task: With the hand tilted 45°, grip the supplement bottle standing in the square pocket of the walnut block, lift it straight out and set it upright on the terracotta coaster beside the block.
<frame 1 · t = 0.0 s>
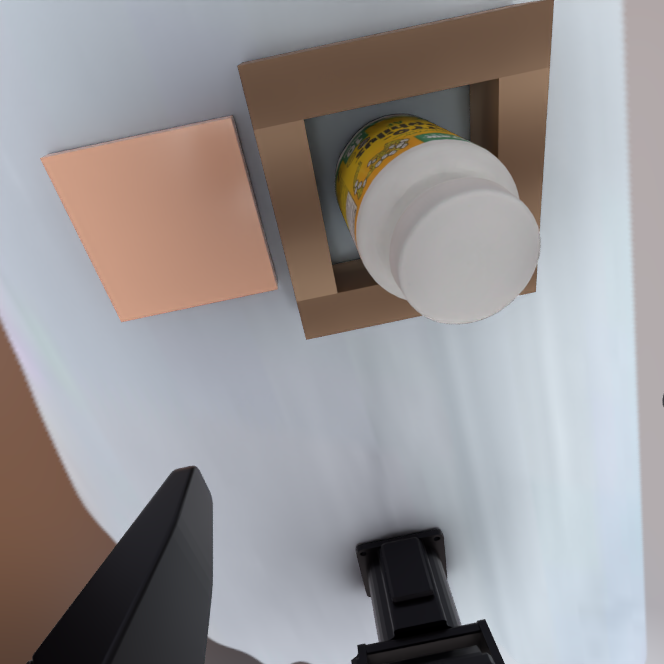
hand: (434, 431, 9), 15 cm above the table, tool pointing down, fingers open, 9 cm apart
coaster: (174, 224, 21), on the table
supplement bottle: (392, 176, 21), resting in pocket block
pocket block: (393, 177, 21), on the table
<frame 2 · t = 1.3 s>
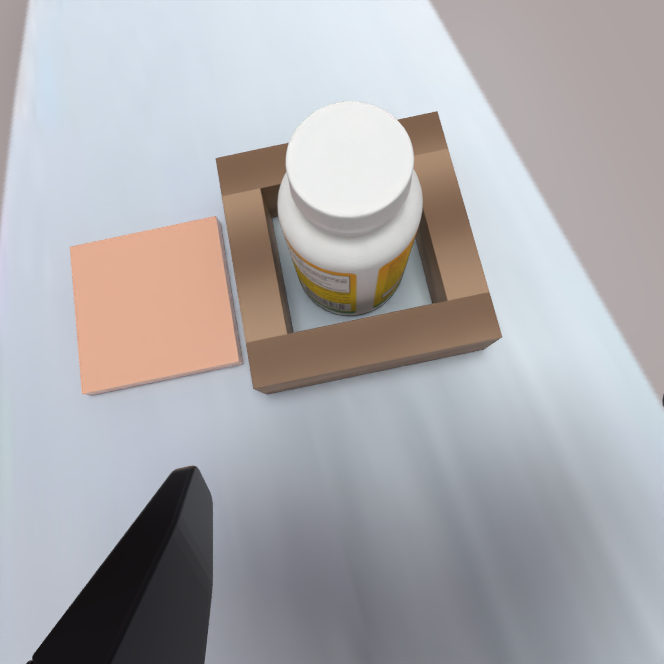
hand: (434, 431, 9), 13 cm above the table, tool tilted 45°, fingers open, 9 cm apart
coaster: (158, 306, 24), on the table
supplement bottle: (351, 267, 24), resting in pocket block
pocket block: (351, 265, 24), on the table
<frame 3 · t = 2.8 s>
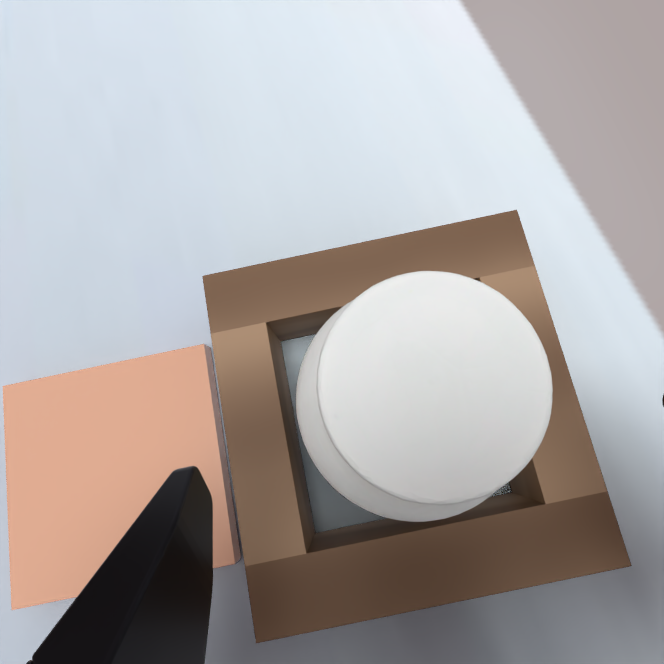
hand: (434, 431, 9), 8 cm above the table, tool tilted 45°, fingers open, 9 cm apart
coaster: (123, 468, 17), on the table
supplement bottle: (390, 413, 17), resting in pocket block
pocket block: (390, 413, 17), on the table
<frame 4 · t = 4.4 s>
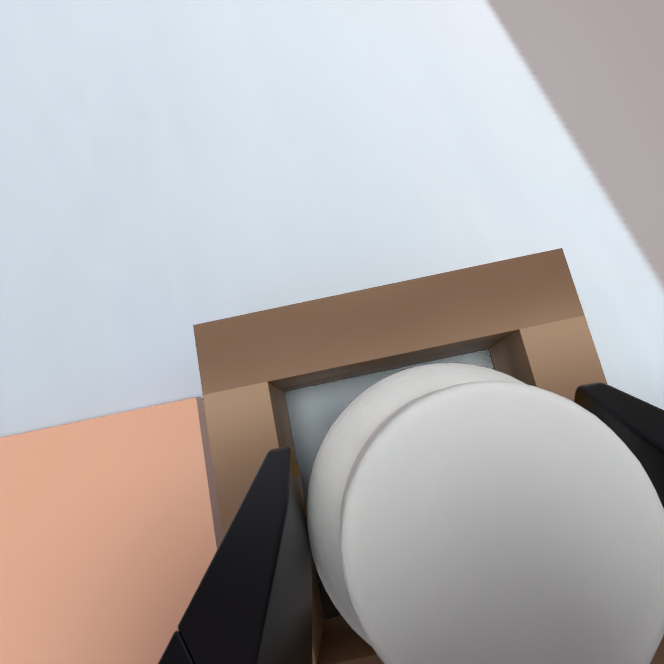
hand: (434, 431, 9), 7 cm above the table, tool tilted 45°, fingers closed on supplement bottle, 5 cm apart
coaster: (104, 540, 15), on the table
supplement bottle: (410, 476, 15), resting in pocket block, touching gripper
pocket block: (410, 477, 15), on the table
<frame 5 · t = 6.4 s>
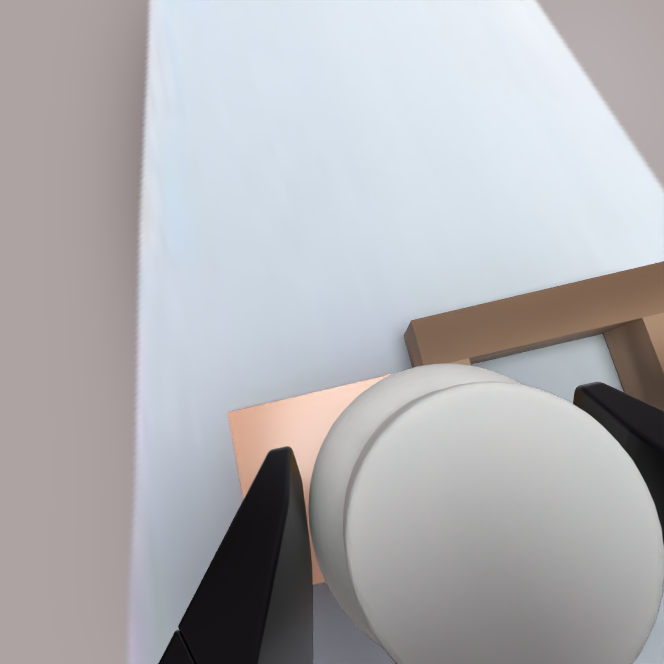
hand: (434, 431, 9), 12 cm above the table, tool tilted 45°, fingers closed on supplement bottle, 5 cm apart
coaster: (331, 478, 21), on the table
supplement bottle: (406, 475, 15), point 5 cm above the table, touching gripper
pocket block: (553, 427, 21), on the table
when the fingers open (9 cm above the table, at t = 8.3 s): supplement bottle stays where it is, resting on coaster.
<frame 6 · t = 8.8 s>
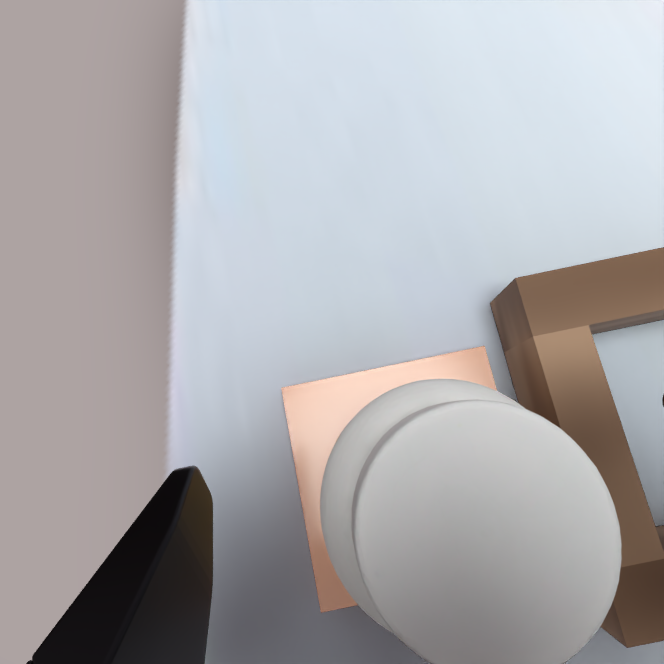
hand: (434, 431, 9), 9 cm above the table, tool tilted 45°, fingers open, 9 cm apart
coaster: (404, 471, 17), on the table
supplement bottle: (408, 476, 17), point 1 cm above the table, touching coaster
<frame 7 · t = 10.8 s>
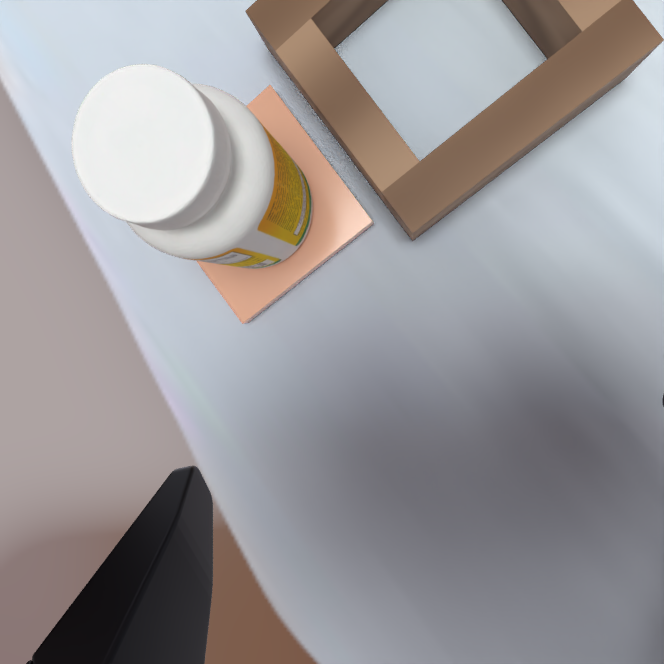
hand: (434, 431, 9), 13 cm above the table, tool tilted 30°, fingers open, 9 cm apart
coaster: (261, 210, 22), on the table
supplement bottle: (260, 210, 22), point 1 cm above the table, touching coaster
pocket block: (436, 63, 20), on the table
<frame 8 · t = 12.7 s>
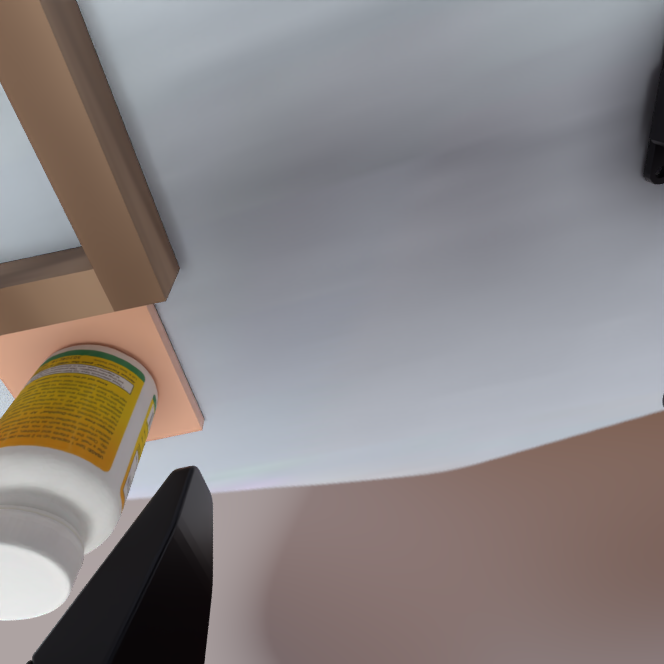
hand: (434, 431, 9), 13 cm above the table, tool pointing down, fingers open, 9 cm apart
coaster: (102, 378, 23), on the table
supplement bottle: (101, 384, 22), point 1 cm above the table, touching coaster
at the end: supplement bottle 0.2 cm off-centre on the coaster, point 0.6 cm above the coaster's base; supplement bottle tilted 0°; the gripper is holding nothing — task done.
